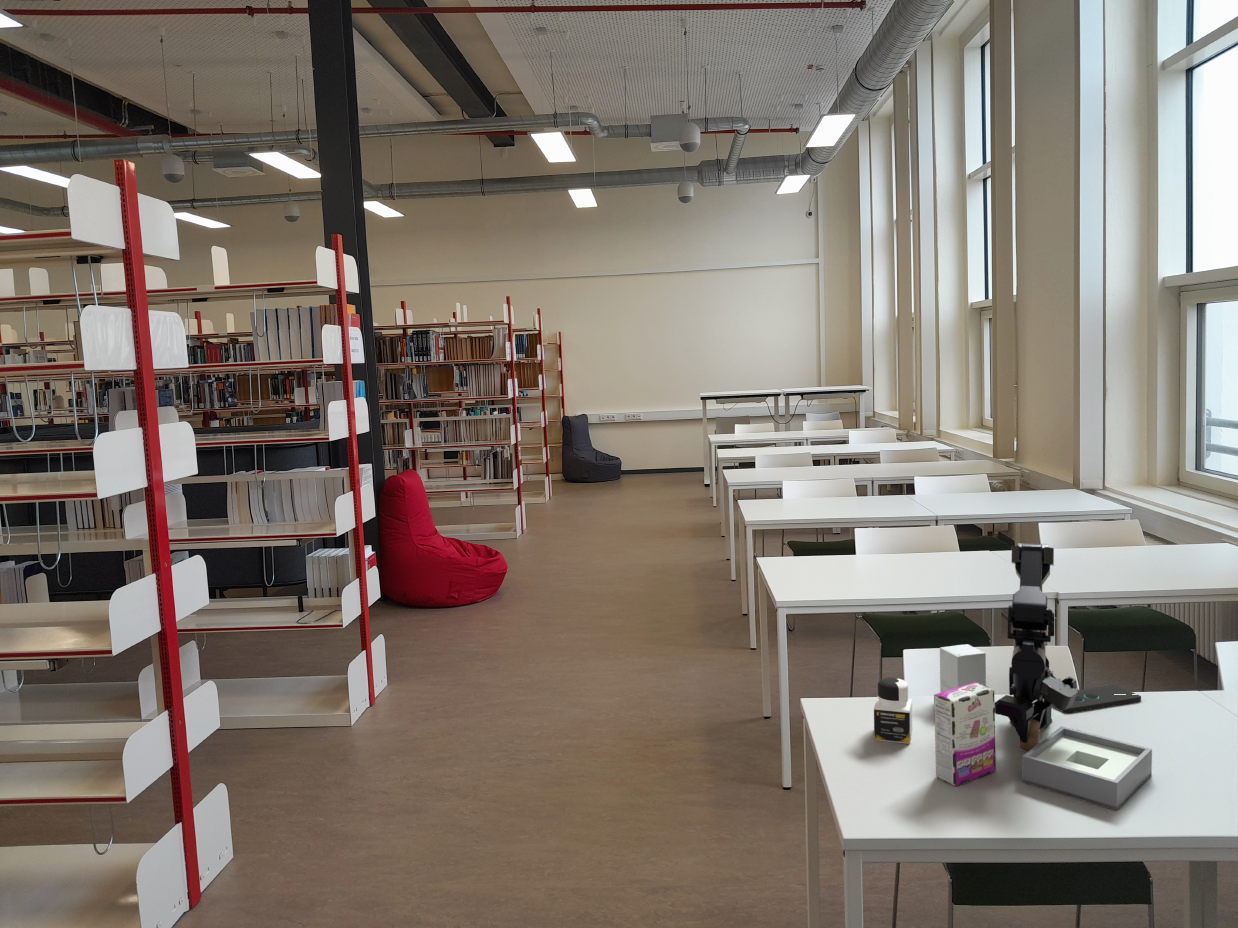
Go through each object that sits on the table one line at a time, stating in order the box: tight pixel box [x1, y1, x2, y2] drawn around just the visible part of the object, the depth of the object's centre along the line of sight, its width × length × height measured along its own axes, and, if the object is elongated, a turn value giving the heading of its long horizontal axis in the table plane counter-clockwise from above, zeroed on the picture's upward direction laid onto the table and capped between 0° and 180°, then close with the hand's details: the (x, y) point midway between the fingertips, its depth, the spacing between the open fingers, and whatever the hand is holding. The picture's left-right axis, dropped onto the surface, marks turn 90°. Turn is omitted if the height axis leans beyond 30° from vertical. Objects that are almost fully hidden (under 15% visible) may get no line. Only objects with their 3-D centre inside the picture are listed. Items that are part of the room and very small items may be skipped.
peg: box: [1018, 719, 1040, 753], centre depth 177 cm, size 4×4×6 cm
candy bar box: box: [933, 682, 997, 787], centre depth 167 cm, size 11×5×16 cm, turn 117°
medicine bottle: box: [873, 677, 913, 745], centre depth 186 cm, size 7×7×12 cm
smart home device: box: [1051, 684, 1142, 714], centre depth 200 cm, size 8×2×20 cm
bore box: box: [1021, 726, 1153, 811], centre depth 164 cm, size 16×18×5 cm
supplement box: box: [939, 643, 987, 693], centre depth 201 cm, size 7×7×13 cm
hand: (1029, 738), depth 177 cm, fingers open, 4 cm apart
